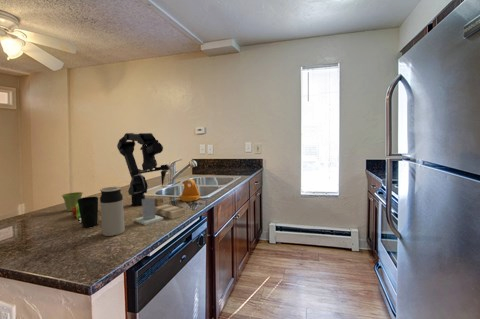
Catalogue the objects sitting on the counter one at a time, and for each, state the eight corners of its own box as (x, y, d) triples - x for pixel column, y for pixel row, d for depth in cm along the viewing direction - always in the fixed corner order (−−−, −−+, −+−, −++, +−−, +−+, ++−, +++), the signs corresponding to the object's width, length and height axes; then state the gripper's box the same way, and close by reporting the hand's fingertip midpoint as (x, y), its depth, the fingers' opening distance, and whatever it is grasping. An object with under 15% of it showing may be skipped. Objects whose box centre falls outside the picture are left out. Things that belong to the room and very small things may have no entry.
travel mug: (110, 238, 97) (106, 191, 96) (98, 234, 102) (95, 189, 100) (128, 231, 104) (126, 187, 103) (117, 228, 108) (114, 185, 107)
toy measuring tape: (87, 212, 133) (86, 199, 132) (91, 222, 117) (90, 208, 117) (72, 214, 129) (71, 202, 129) (74, 225, 113) (73, 210, 113)
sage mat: (134, 220, 117) (134, 218, 117) (152, 216, 124) (152, 214, 124) (145, 225, 111) (144, 222, 111) (163, 219, 118) (163, 217, 118)
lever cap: (142, 217, 118) (141, 198, 117) (153, 216, 120) (152, 197, 120) (143, 220, 115) (142, 200, 114) (155, 218, 117) (154, 198, 117)
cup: (78, 230, 107) (76, 201, 106) (80, 224, 113) (78, 198, 112) (99, 226, 110) (97, 199, 109) (100, 221, 117) (98, 195, 116)
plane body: (149, 211, 132) (148, 198, 131) (161, 208, 137) (161, 196, 137) (172, 218, 119) (171, 205, 118) (184, 215, 124) (184, 201, 124)
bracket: (178, 201, 152) (177, 181, 150) (183, 198, 159) (182, 179, 158) (196, 201, 150) (195, 181, 149) (200, 198, 157) (199, 179, 156)
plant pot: (58, 211, 135) (57, 195, 135) (76, 206, 144) (74, 191, 143) (71, 213, 132) (69, 196, 131) (87, 208, 141) (86, 192, 140)
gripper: (125, 158, 124) (130, 190, 124) (164, 152, 127) (169, 183, 126) (131, 160, 135) (136, 189, 135) (168, 154, 138) (172, 183, 137)
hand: (153, 186), depth 133 cm, fingers open, 9 cm apart
